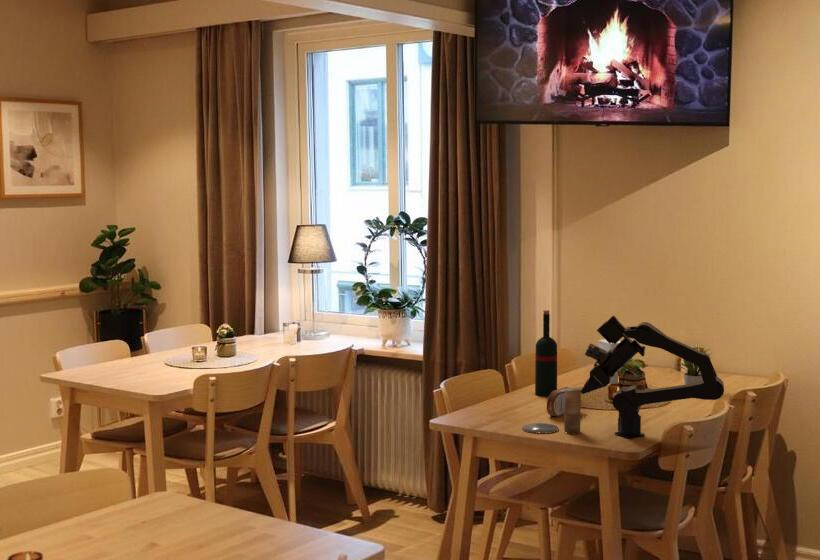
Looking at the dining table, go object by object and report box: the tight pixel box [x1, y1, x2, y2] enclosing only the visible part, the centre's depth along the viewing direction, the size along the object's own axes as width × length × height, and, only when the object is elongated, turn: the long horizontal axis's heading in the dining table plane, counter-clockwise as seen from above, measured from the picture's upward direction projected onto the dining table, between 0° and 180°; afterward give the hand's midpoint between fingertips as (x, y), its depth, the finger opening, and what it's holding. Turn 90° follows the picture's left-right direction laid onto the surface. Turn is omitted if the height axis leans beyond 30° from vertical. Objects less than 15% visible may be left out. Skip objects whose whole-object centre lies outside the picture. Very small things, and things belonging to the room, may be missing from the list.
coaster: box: [521, 422, 559, 434], centre depth 317 cm, size 11×11×1 cm
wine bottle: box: [534, 309, 558, 398], centre depth 365 cm, size 8×10×30 cm
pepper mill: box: [563, 387, 582, 434], centre depth 312 cm, size 5×5×13 cm
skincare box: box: [598, 339, 622, 385], centre depth 386 cm, size 8×7×16 cm
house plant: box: [678, 349, 714, 385], centre depth 367 cm, size 14×14×16 cm
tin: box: [546, 386, 570, 418], centre depth 336 cm, size 15×3×8 cm, turn 141°
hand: (583, 389), depth 311 cm, fingers open, 9 cm apart
